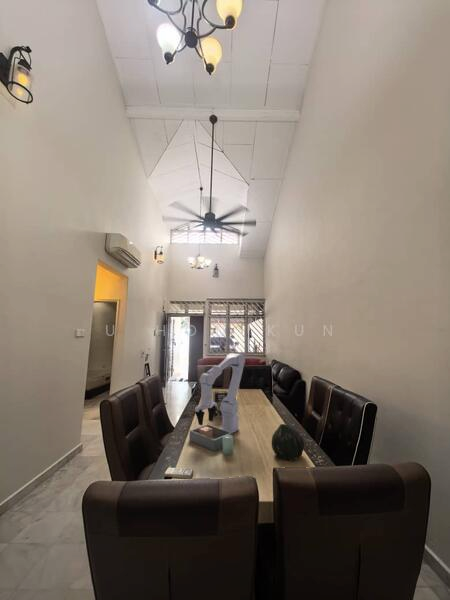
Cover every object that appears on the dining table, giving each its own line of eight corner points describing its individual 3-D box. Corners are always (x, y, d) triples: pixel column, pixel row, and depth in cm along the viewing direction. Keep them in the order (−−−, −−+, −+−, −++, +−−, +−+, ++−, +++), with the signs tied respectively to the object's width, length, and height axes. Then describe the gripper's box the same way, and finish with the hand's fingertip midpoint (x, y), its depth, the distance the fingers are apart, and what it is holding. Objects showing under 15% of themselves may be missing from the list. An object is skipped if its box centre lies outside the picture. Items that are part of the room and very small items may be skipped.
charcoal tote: (189, 440, 136) (189, 430, 136) (207, 433, 146) (207, 424, 147) (214, 451, 124) (214, 440, 125) (232, 442, 135) (232, 432, 135)
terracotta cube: (205, 436, 141) (205, 426, 142) (212, 438, 138) (212, 428, 139) (198, 438, 137) (199, 428, 138) (205, 441, 134) (205, 431, 135)
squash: (314, 445, 121) (294, 415, 128) (300, 458, 110) (278, 424, 117) (294, 459, 127) (275, 429, 135) (278, 472, 116) (259, 439, 123)
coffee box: (214, 418, 171) (215, 393, 173) (212, 415, 177) (212, 391, 179) (227, 418, 173) (228, 392, 175) (225, 414, 179) (225, 390, 181)
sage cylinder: (227, 449, 127) (227, 433, 128) (235, 452, 124) (235, 436, 125) (220, 452, 124) (220, 436, 125) (228, 455, 120) (228, 439, 121)
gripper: (202, 400, 132) (201, 428, 131) (220, 395, 143) (220, 421, 142) (192, 397, 137) (191, 424, 135) (211, 393, 148) (210, 418, 146)
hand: (205, 422), depth 139 cm, fingers open, 7 cm apart
